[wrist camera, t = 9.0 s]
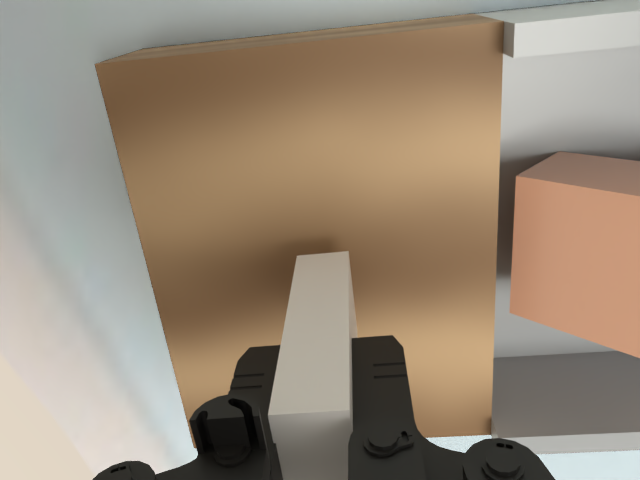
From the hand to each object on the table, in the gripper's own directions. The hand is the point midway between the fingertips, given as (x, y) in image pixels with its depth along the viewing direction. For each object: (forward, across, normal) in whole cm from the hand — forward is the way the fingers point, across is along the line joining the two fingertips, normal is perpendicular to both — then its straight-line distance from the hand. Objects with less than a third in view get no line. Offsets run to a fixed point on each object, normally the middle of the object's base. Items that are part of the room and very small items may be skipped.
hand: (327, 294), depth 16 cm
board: (+5, 0, 0) cm, 5 cm away
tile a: (+3, +10, 0) cm, 10 cm away
